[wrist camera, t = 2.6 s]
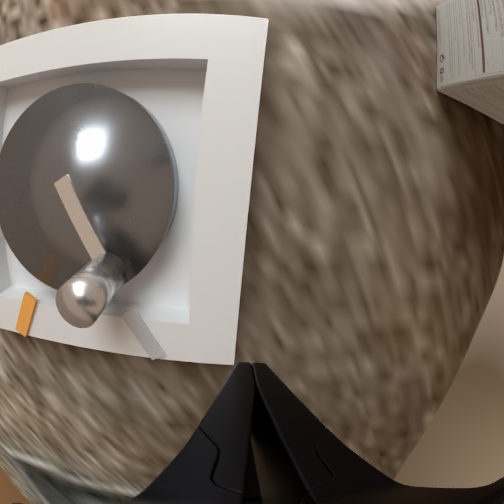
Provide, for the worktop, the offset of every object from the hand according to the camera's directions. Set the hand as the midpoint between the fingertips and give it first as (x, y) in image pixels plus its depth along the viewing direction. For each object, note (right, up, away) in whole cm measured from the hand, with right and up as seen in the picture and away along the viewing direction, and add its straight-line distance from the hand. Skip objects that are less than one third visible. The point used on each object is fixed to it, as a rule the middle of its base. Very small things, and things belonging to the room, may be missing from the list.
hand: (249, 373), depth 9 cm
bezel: (-9, +8, +7) cm, 14 cm away
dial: (-9, +7, +6) cm, 13 cm away
